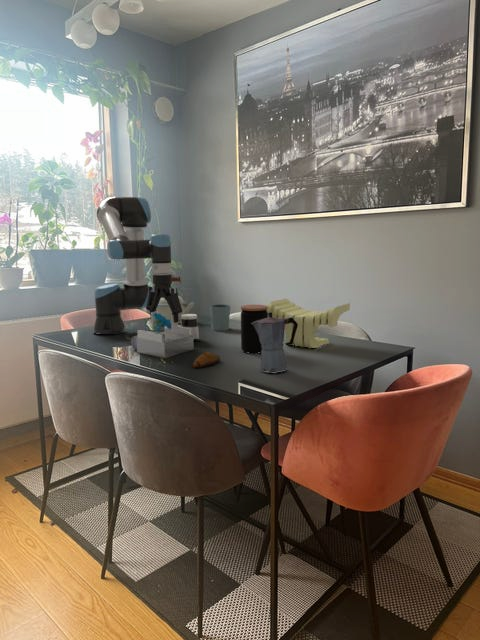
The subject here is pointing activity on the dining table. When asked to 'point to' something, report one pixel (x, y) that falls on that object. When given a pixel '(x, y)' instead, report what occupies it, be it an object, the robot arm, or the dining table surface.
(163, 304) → the kettle
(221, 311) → the teal tumbler cup
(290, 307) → the beige slatted piece
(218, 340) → the dining table surface
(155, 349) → the storage box
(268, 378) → the dining table surface
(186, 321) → the spread jar
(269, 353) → the moka pot
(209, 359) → the croissant
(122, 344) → the dining table surface
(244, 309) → the coffee jar
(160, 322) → the blue irregular piece
